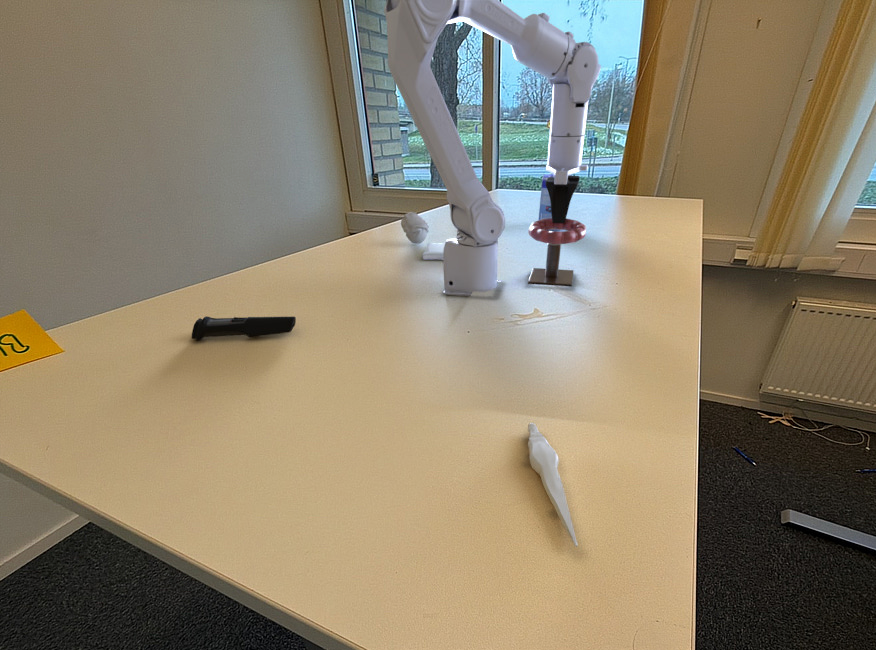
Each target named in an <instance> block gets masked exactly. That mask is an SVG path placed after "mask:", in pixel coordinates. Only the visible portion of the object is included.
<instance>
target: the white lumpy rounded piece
mask: <svg viewBox="0 0 876 650" xmlns="http://www.w3.org/2000/svg"><path fill="white" fill-rule="evenodd" d="M400 225H401V228H402V230H403V232H404V233H405V237H406V238H407V239H408V241H409V242H411V243H412V244H416V245H417V244H421V243H423V242H424V241H425V240H426V239H427V236H428V233H429V227H430V226H429V225H428V222H427V221H426V220H425V218H423V217H422V216H421V215H419V214H418V213H417V212H415V211H410V212H407V213H405V214H404V215H403V217H402V218H401V221H400Z"/></svg>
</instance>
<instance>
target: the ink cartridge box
mask: <svg viewBox="0 0 876 650" xmlns="http://www.w3.org/2000/svg"><path fill="white" fill-rule="evenodd" d="M549 177H555V175H554V174H552V173H547V174H543V175H542V178H541V179H542V180H541V188H540V198H539V209H538V218H537V219H538V220H541V219H548V218H552V214H551V202H550V197H549V193H548V190H547V187H546V184H545V182H546V179H548V178H549ZM538 220H537V221H538ZM549 231H556V232H558V230H554V229H553V230H549Z"/></svg>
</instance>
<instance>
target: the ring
mask: <svg viewBox="0 0 876 650" xmlns="http://www.w3.org/2000/svg"><path fill="white" fill-rule="evenodd" d="M553 229H554V230H557V231H550V230H553ZM527 232H528V235H529V237H531V238H532V239H533V240H534V241H537V242H539V243H543V244H547V245H548V244H561V245H566V244H574V243H576V242H579V241H581V240H583V239H584V238H585V237H586V234H587V227H586V225H585V224H584V223H582V222H580V221H578V220H575V219H571V218H567V217H566V220H565V222H564V223H553V221H552V218H548V219H541V220H536V221H533V222H532V223H531V224H530V226H529V227H528V231H527Z"/></svg>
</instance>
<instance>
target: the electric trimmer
mask: <svg viewBox="0 0 876 650" xmlns="http://www.w3.org/2000/svg"><path fill="white" fill-rule="evenodd" d="M296 322H297V318H296V316H248V317H237V316H234V317H218V318H217V317H211V316H208V315H207V316H203V318H202V317H199V318H198V319H197V320H196V321H195V322H194V324H193V327H192V331H191V339H193V340H195V341H200V340H202V339H203V338H209V337H211V338H213V337H230V336H233V337H234V336H247V337H248V338H255V337H263V336H271V335H279V334H285V333H291V332H292V331H293V329H294V328H295V326H296Z"/></svg>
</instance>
